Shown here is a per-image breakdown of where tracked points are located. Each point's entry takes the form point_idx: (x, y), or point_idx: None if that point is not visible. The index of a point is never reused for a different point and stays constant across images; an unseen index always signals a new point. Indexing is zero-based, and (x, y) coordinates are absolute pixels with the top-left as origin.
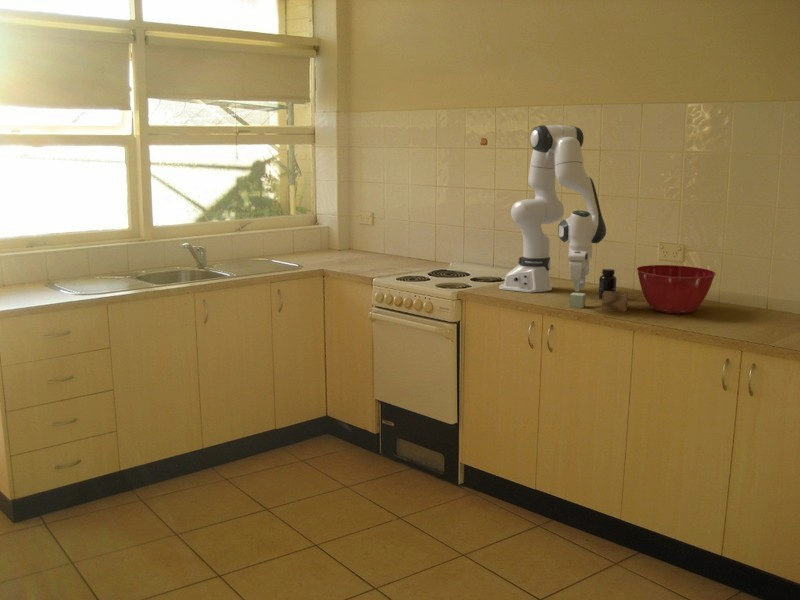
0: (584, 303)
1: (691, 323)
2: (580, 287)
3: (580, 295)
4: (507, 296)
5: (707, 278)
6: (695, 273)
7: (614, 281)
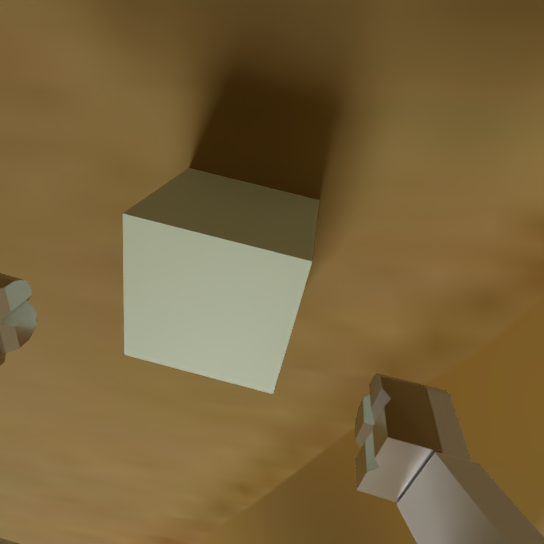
0: (206, 182)
1: None
2: (34, 315)
3: (296, 291)
4: (76, 534)
5: None
6: None
7: None
